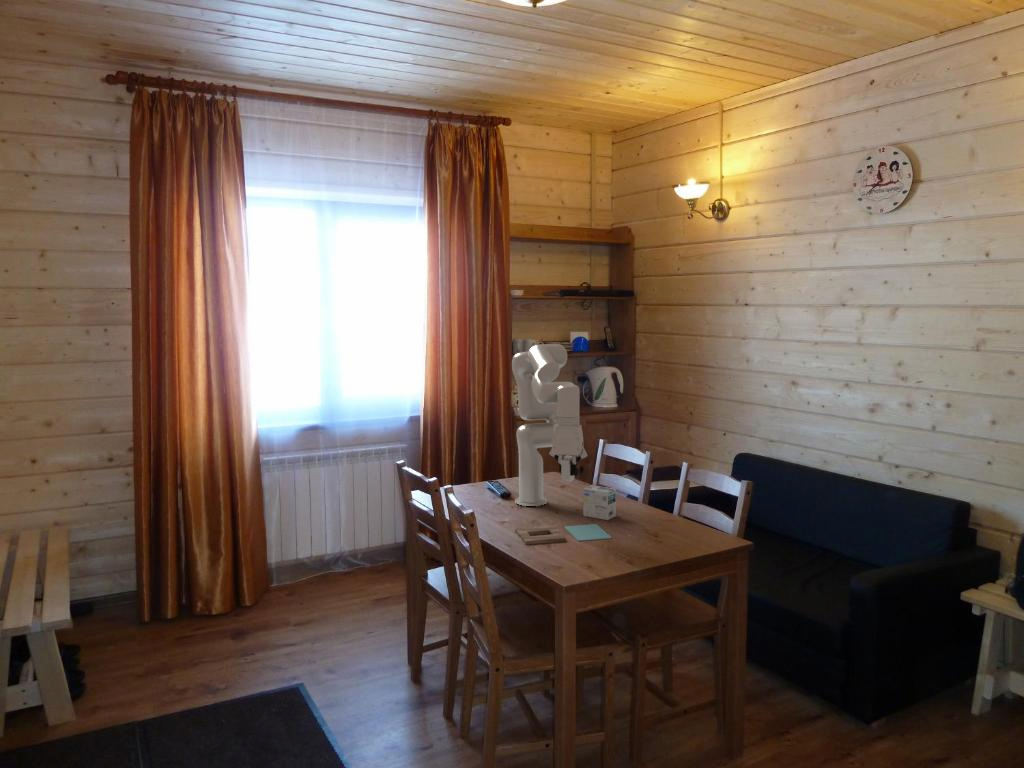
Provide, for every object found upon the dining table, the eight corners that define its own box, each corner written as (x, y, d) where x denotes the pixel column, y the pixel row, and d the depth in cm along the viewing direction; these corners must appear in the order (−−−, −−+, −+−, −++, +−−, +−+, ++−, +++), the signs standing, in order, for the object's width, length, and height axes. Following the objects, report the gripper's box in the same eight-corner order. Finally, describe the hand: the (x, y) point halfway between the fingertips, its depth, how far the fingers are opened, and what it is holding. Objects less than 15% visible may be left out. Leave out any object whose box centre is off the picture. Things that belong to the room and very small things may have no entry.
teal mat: (563, 527, 270) (563, 526, 270) (596, 524, 273) (596, 524, 273) (578, 541, 255) (578, 540, 255) (612, 538, 257) (612, 537, 257)
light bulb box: (616, 516, 284) (616, 488, 282) (608, 520, 278) (608, 491, 277) (591, 512, 290) (591, 484, 288) (582, 516, 284) (582, 487, 283)
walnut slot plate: (515, 532, 265) (515, 528, 265) (553, 528, 268) (553, 525, 268) (525, 544, 252) (525, 541, 251) (565, 541, 255) (565, 537, 255)
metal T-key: (560, 483, 256) (560, 459, 255) (566, 477, 265) (567, 454, 264) (568, 483, 255) (568, 460, 254) (575, 477, 264) (575, 455, 263)
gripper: (541, 421, 257) (541, 475, 259) (589, 424, 252) (588, 478, 254) (548, 418, 264) (548, 470, 266) (594, 420, 259) (593, 473, 261)
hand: (567, 474), depth 260 cm, fingers closed on metal T-key, 3 cm apart
